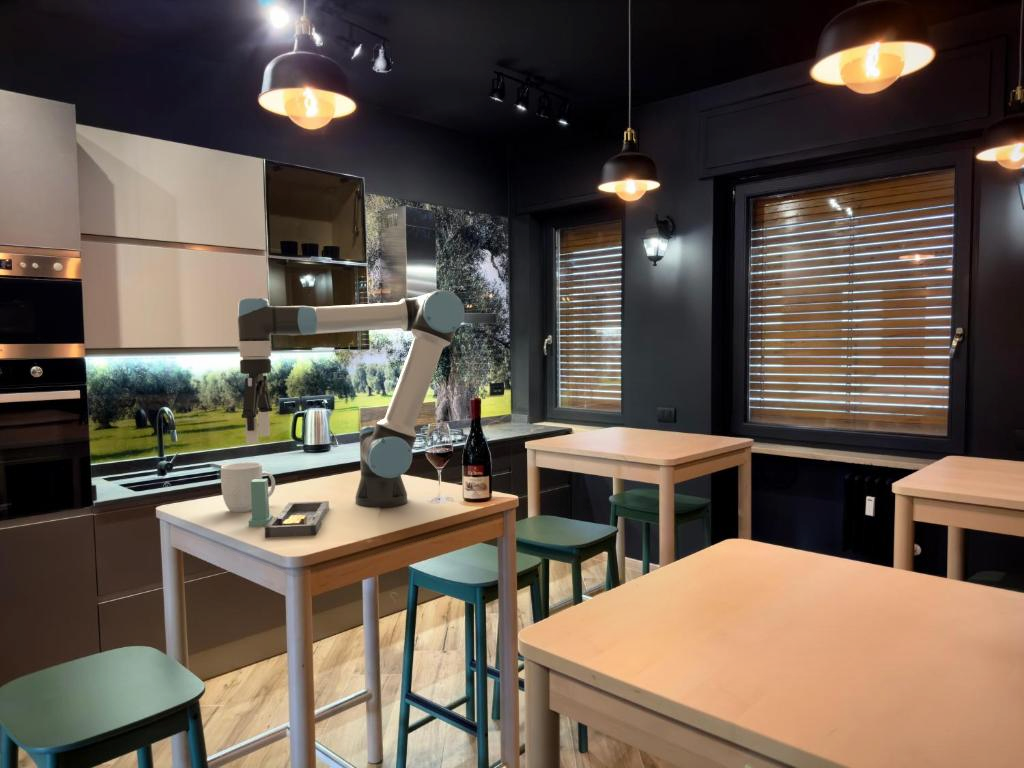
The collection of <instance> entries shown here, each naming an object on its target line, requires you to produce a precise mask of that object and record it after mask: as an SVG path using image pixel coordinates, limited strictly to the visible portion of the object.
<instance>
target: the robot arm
mask: <svg viewBox="0 0 1024 768" xmlns="http://www.w3.org/2000/svg"><path fill="white" fill-rule="evenodd" d="M464 319H465V307H464V303H463V302H462V300H461V298H459V296H458V295H457V294H455V293H454V292H452V291H449V290H444V289H435V290H433V291H431V292H429V293H426V294H423V295H422V294H421V295H419V296H416V297H411V298H402V299H400V300H399V301H398V302H383V303H369V304H368V303H367V304H350V305H349V304H348V305H332V306H331V305H330V306H328V305H327V306H313V305H312V306H309V305H308V306H307V305H290V306H289V305H288V306H283V305H281V306H274V305H270V303H269V299H267V298H263V297H248V298H247V297H245V298H241V299H240V300H239V301H238V303H237V327H238V342H239V343H238V344H239V345H237V347H236V348H237V349H238V350H239V357H240V358H242V359H240V360H239V368H240V369H239V371H240V372H239V373H240V374H242V375H248V377H247V378H244V394H243V396H244V397H243V408H242V414H241V419H245V437H246V438H245V439H246V440H245V441H246V444H247V445H249V444H250V445H253V444H259V437H270V436H271V430H270V429H271V428H270V425H271V424H270V412H272V411H273V407H272V405H271V400H270V392H269V386H268V377H267V375H264V374H269V373H271V372H272V360H271V358H269V357H271V356H272V353H271V352H272V351H271V338H270V337H271V336H272V335H273V336H276V335H277V336H278V335H279V336H286V335H287V336H291V337H292V336H293V337H294V336H307V335H317V334H329V333H330V334H332V333H333V334H334V333H344V332H345V333H346V332H361V331H378V330H380V331H381V330H395V329H401V330H402V331H404V332H411V333H412V335H413V339H412V342H411V345H410V348H409V350H408V353H407V356H406V359H405V361H404V365H403V367H402V370H401V372H400V375H399V378H398V380H397V383H396V386H395V389H394V391H393V394H392V397H391V400H390V402H389V406H388V407H387V411H386V414H385V416H384V418H383V419H381V420H379V421H377V422H376V425H370V426H363V427H361V428H360V429H359V436H358V439H359V452H360V453H359V454H360V457H359V458H360V459H359V461H360V480H359V483H358V487H357V490H356V493H355V497H354V498H355V504H356V505H357V506H360V507H365V508H366V507H367V508H379V509H383V508H392V507H393V508H394V507H398V506H401V505H404V504H406V503H407V502H408V493H407V490H406V487H405V484H404V481H403V478H402V475H404V474H405V473H406V472H408V470H409V469H410V467H411V464H412V462H413V447H414V445H415V443H416V440H417V436H418V435H417V433H416V431H415V428H416V427H415V426H416V424H417V421H418V418H419V416H420V413H421V410H422V406H423V404H424V401H425V399H426V396H427V393H428V390H429V388H430V385H431V382H432V379H433V377H434V374H435V372H436V368H437V365H438V363H439V360H440V357H441V354H442V352H443V350H444V349H445V348H446V347H448V346H451V343H452V341H453V337H454V335H455V332H456V331H457V329H459V327H460V326H461V325H462V324H463V322H464ZM258 411H259V412H258Z"/></svg>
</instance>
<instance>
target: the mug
mask: <svg viewBox="0 0 1024 768" xmlns="http://www.w3.org/2000/svg"><path fill="white" fill-rule="evenodd" d="M263 476H268V478H269V479H270V482H271V486H270V490H268V497H269V498H271V496H272V495H273V494H274V492H275V489H276V479H275V477H274V476H273V474H272V473H271V472H268V471H263V466H262V463H261V462H249V461H248V462H236V463H234V462H233V463H228V464H224V465H221V467H220V484H221V485H220V486H221V494H222V498H223V502H224V503H225V506H226V508H227V509H228V510H229V512H231V513H244V512H245V513H247V512H250V511H251V512H252V501H251V481H253V480H254V479H263Z"/></svg>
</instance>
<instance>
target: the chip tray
mask: <svg viewBox="0 0 1024 768" xmlns="http://www.w3.org/2000/svg"><path fill="white" fill-rule="evenodd" d="M322 523H323V520H321V515H316V517H315V519H314V520H313V522H312V524H304V525H283V526H279V521H278V516H273V518H272V520H271V521H270V522H269V523H268V524H267V526H264V538H265V539H269V538H270V539H272V538H291V537H292V538H293V537H311V536H313V537H314V536H317V534H318V532H319V531H320V528H321V526H322Z"/></svg>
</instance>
